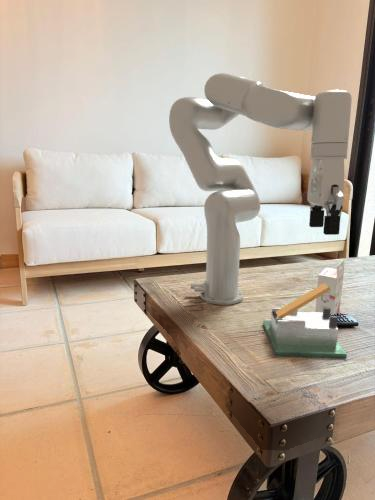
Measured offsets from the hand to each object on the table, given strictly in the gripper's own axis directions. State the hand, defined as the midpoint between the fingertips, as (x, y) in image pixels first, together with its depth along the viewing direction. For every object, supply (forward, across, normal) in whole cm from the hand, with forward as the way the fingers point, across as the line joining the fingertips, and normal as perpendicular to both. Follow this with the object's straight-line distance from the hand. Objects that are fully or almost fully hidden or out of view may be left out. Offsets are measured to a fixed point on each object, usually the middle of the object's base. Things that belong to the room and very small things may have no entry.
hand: (323, 230), depth 89 cm
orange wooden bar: (+16, +3, -5) cm, 17 cm away
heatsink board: (+25, +3, -4) cm, 26 cm away
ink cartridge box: (+25, -12, +7) cm, 29 cm away
